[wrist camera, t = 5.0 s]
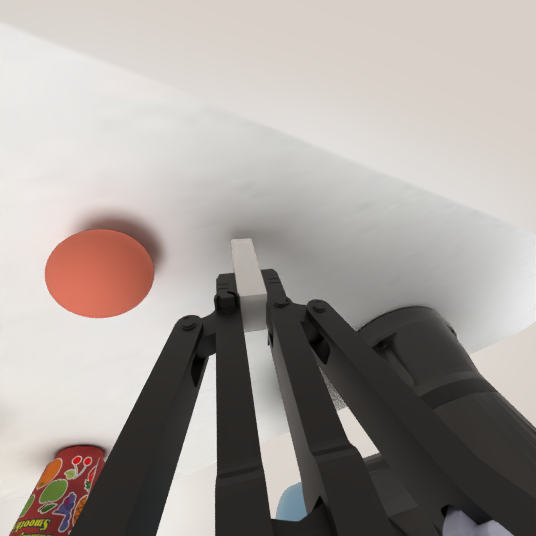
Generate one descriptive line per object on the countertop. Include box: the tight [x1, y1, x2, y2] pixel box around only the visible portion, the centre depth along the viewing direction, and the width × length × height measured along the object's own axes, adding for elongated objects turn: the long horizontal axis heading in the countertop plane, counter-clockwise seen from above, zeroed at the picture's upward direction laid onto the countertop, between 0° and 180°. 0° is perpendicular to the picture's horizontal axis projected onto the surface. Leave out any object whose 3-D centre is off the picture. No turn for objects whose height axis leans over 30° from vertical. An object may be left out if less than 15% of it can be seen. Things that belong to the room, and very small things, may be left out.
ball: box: [45, 229, 154, 318], centre depth 16 cm, size 6×6×6 cm
